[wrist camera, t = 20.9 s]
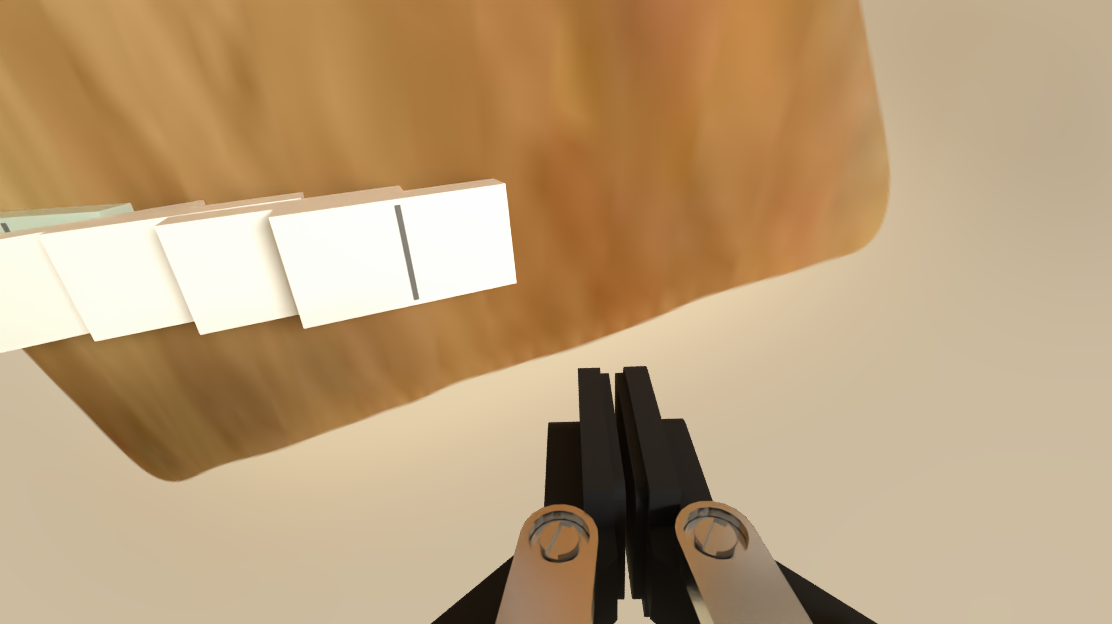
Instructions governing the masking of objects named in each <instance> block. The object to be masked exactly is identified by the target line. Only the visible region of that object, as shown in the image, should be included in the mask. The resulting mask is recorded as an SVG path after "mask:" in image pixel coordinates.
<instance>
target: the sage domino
mask: <svg viewBox="0 0 1112 624" xmlns="http://www.w3.org/2000/svg"><path fill="white" fill-rule="evenodd" d="M133 211H134V210H133V208H132V206H131V203H122V204H107V205H92V206H77V207H62V208H47V209H32V210H17V211H3V212H0V233H6V232H12V231H18V230H24V229H31V228H37V227H43V226H49V225H55V224H61V223H67V222H73V221H79V220H85V219H91V218H97V217H103V216H109V215H115V214H121V213H127V212H133Z"/></svg>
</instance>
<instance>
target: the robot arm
mask: <svg viewBox="0 0 1112 624" xmlns="http://www.w3.org/2000/svg"><path fill="white" fill-rule="evenodd" d="M578 384H579V385H578V386H579V412H580V422H551V423H550V422H549V423H548V439H547V460H546V480H545V501H544V508H541V509H540V510H538V511H536V512H535V513H533V514H532V515H531V516H530V517H529V518H528V519H527V520H526V521H525V523H524V525H523V527H522V530H521V532H520V536H519V539H518V543H517V546H516V550H515V554H514V555H513V556H512V557H511V558H510V559H509V560H507V561H506V562H505V563H504V564H503V565H501V566H500V567H499V568H498V569H497V570H495V571H494V572H493V573H492V574H490V575H489V576H488V577H487V578H486V579H484V580H483V581H482V582H481V583H480V584H479V585H477V586H476V587H475V588H474V589H472V590H471V591H470V592H469V593H467V594H466V595H465V596H464V597H463V598H461V599H460V600H459V601H458V602H457V603H455V604H454V605H453V606H452V607H451V608H449V609H448V610H447V611H446V612H445V613H443V614H442V615H441V616H440V617H438V618H437V619H436V620H435V621H434V622H432V623H431V624H614V623H615V622H616V621H617V599H624V595H625V594H624V593H625V592H624V591H625V548H626V555H627V563H628V571H629V579H630V587H631V594H632V599H642V604H643V611H644V617H650V619H651V620H652V621H653V622H654V623H656V624H877V623H875V622H874V621H872V620H871V619H869V618H867V617H866V616H864V615H863V614H861V613H859V612H858V611H856V610H855V609H853V608H851V607H850V606H848V605H846V604H845V603H843V602H842V601H840V600H838V599H837V598H835V597H833V596H832V595H830V594H829V593H827V592H825V591H824V590H822V589H820V588H819V587H817V586H816V585H814V584H813V583H811V582H809V581H808V580H806V579H805V578H802V577H801V576H800V575H798V574H797V573H795V572H793V571H792V570H790V569H788V568H787V567H785V566H783V565H782V564H780V563H779V562H777V561H775V560H774V559H773V557H772V555H771V554H770V552H769V551H768V549H767V547H766V546H765V544H764V542H763V541H762V539H761V537H760V536H759V534H758V532H757V531H756V529H755V527H754V526H753V525H752V524H751V522H750V521H749V520H748V519H747V517H746V516H744V515H743V514H742V513H740V512H739V511H738V510H736V509H735V508H732V507H730V506H728V505H726V504H723V503H719V502H714V501H713V500H712V498H711V495H710V492H709V489H708V486H707V483H706V480H705V477H704V475H703V472H702V469H701V466H700V463H699V460H698V457H697V455H696V452H695V449H694V446H693V443H692V440H691V437H690V434H689V432H688V429H687V426H686V423H685V421H684V420H683V419H661V416H660V412H659V409H658V405H657V402H656V398H655V394H654V391H653V388H652V384H651V380H650V377H649V373H648V370H647V367H646V366H636V367H624V368H623V373H615V412H614V405H613V399H612V392H611V385H610V379H609V373H604V374H603V373H601V374H600V368H578Z"/></svg>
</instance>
